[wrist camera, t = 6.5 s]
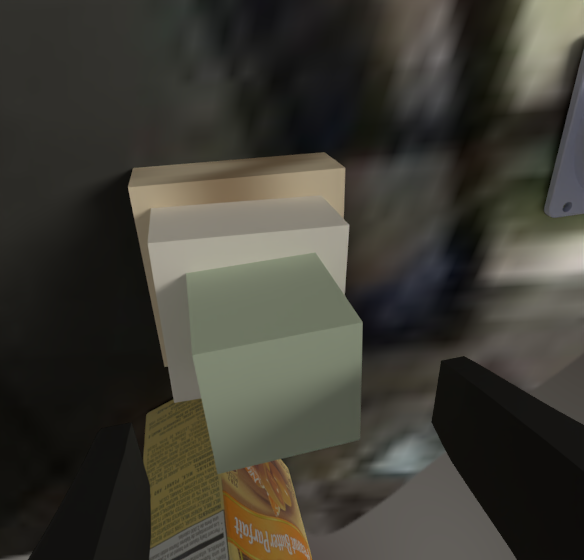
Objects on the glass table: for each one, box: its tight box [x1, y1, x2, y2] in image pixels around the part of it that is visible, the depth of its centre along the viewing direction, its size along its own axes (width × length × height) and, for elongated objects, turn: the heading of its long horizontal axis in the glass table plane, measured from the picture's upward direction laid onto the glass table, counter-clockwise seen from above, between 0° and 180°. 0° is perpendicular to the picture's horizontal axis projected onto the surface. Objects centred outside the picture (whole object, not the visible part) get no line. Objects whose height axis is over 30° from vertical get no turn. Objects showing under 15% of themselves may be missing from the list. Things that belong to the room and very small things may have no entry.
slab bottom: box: [128, 152, 345, 367], centre depth 19 cm, size 8×8×3 cm
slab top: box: [148, 195, 349, 403], centre depth 16 cm, size 6×6×3 cm
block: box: [186, 252, 363, 474], centre depth 13 cm, size 4×4×4 cm
